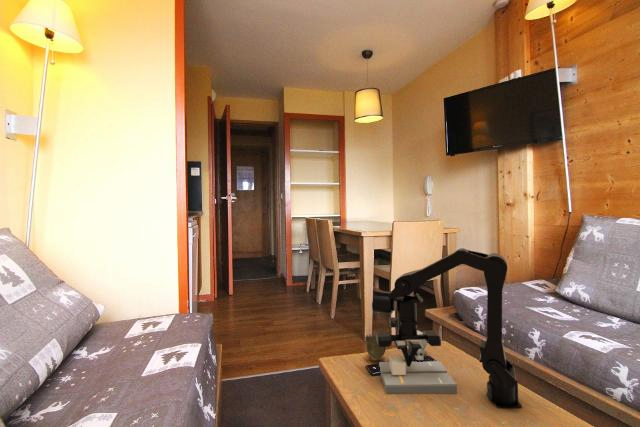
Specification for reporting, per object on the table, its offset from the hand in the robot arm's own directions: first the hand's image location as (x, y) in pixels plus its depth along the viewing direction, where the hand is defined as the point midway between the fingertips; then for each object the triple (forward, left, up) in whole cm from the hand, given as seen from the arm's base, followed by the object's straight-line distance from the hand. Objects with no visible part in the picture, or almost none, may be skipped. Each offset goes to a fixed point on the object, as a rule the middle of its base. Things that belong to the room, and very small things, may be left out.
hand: (408, 366), depth 101 cm
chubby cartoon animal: (-7, -16, -5) cm, 18 cm away
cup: (+8, -14, -5) cm, 17 cm away
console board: (-2, 0, -5) cm, 5 cm away
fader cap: (+3, 0, -2) cm, 4 cm away
